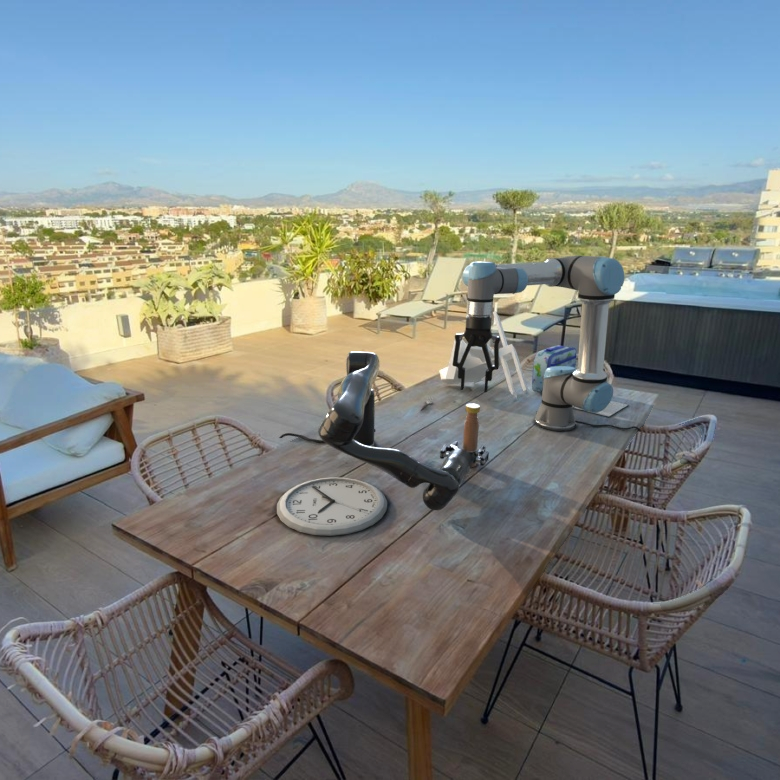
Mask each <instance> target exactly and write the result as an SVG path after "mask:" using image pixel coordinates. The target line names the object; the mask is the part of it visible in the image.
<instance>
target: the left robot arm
mask: <svg viewBox="0 0 780 780" xmlns="http://www.w3.org/2000/svg"><path fill="white" fill-rule="evenodd" d="M380 362H381V361H380V358H379V356H378V354H377V353H375V352H373V351H349V352H348V354H347V355H346V359H345V367H346V368H345V370H346V376H344V378H343V379H342V380H341V383H340V385H339V387H338V389H337V400H336V401H335V402H334V403H333V404H332V406H331V407H330V409H329V410H328V411H327V413H326V415H325V417H324V418H323V420H321V423H320V425H319V426H318V430H317V433H318V436H319V438H320V439H314V438H309V437H308V436H305V435H303V434H298V433H292V432H286V433H285V432H284V433H283V434H281V435H280V436H279V437H278V439H283V438H284V437H287V436H289V437H296V438H301V439H304V440H306V441H308V442H313V443H318V444H324V443H325V444H327V445H328V446H329V447H331V448H333V449H335V450H337V451H339V452H341V453H343V454H345V455H347V456H350V457H352V458H354V459H356V460H359V461H360V462H364V463H366V464H367V465H370V466H373V467H375V468H376V469H378V470H380V471H383V472H384V473H386V474H388V475H389V476H392V477H393V478H394V479H396V480H397V481H399V482H400V483H402V484H403V485H405V486H406V487H408V488H410V489H415V488H417V487H418V486H420V485H422V484H424V483H425V484H427V486H426V487H425V488H424V490H423V492H422V501H423V503H424V505H425V507H426V508H428V509H430V510H432V511H441V510H443V509H445V508H446V507H447V506H448V504H449V503H450V502H451V501H452V500H453V499H454V498H455V496H456V495H457V494H458V493H459V491H460V486H461V484H462V482H463V481H464V479H466V477H467V476H468V474H469V472H470V470H471V469H472V468H473V467H472V465H473V464H474V463H475V462H476V464H479V465H480V467H484V466H485V465H486V463H488V461H489V458H490V457H489V455H490V451H488V450H486V446H485V445H483V444H482V445H481V446H480V447H479V449H477V450H476V449H474V450H470V451H469V450H467V451H465V450H463V448H458V447H459V445H458V444H459V441H458V440H455V441H453V442H452V443H451V444H449V445H448V444H447V443H444V444H443V445H442V447H441V449H440V452H439V459H441V460H443V463H442V464H441V467H440V468H436V467H433V466H430V465H427V464H424V463H422V462H420V461H418V459H416V458H414V457H413V456H411V455H409V454H408V453H406V452H405V451H402V450H400V449H397V448H390V447H379V446H378V447H377V446H375V443H376V442H375V433H376V428H375V418H376V417H375V414H376V413H375V411H376V410H375V408H376V406H375V405H376V404H375V399H376V398H375V397H376V395H375V394H376V392H375V390H374V389H373V386H374V385H373V384H374V383H375V381H376V379H377V377H378V375H379V372H380V366H381V363H380ZM473 453H474V454H473Z"/></svg>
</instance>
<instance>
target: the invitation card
mask: <svg viewBox="0 0 780 780" xmlns="http://www.w3.org/2000/svg"><path fill="white" fill-rule="evenodd" d="M628 406H629V404H627V403H623V402H618V401H614V400H611V401H610V403H609V404H608V405H607V407H606V408H605V409H603V410H602V411H600V412H597V413H595V414H596V415H600V416H604V417H608V418H609V417H611V416H613V415H614V414H616V413H617V412H619V411H621V410H623V409H624V408H626V407H628ZM573 409H575V410H581V411H584V410H583V409H580V408H578V407H575V406H573ZM587 413H590V412H589V411H587ZM591 413H593V412H591ZM593 414H594V413H593Z"/></svg>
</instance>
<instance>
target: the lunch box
mask: <svg viewBox="0 0 780 780" xmlns="http://www.w3.org/2000/svg"><path fill="white" fill-rule="evenodd" d="M576 362H577V348H576V347H571V346H565V345H553V346H550V347H546V348H545V349H542V350H539V351H538V352H537V353H536V354H535V356H534V358H533V365H532V376H531V377H532V378H531V390H532V391H533V392H537V393H541V394H542V390H543V379H544V374H545V370H546V369H547V368H549V367H555V366H569V367H575V368H576V364H577V363H576Z"/></svg>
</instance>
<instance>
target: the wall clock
mask: <svg viewBox="0 0 780 780" xmlns="http://www.w3.org/2000/svg"><path fill="white" fill-rule="evenodd" d="M387 509H388V500H387V498H386V496H385V494H384V493H383V492H382V491H381V490H380V489H379V488H377V487H376V486H374V485H372V484H371V483H369V482H365V481H362V480H359V479H355V478H349V477H338V476H337V477H335V476H333V477H332V476H331V477H322V478H317V479H312V480H307V481H305V482H302V483H299V484H297V485H295V486H293V487H292V488H290V489H288V490H287V491H286V492H285V493H284V494H283V495H281V496H280V498H279V499H278V502H277V503H276V515H277V517H278V518H279V520H280V521H281V522H282V523H283V524H285V525H286V526H287V527H288V528H290V529H293V530H295V531H297V532H299V533H303V534H308V535H312V536H327V537H328V536H329V537H331V536H332V537H333V536H342V535H350V534H352V533H356V532H361V531H363V530H366V529H368V528H369V527H372V526H373V525H375V524H376V523H378V522H379V521H380V520H381V519H382V518H383V517H384V516H385V514H386V512H387Z"/></svg>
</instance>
